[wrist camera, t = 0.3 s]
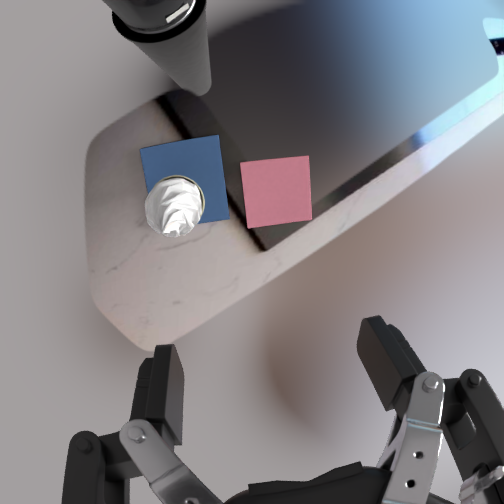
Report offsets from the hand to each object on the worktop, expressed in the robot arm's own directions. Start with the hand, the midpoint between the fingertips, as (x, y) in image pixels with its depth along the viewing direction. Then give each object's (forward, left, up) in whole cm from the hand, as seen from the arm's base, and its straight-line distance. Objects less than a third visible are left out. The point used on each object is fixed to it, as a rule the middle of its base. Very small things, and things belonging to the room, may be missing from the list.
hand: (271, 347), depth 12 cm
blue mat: (-2, -5, -25) cm, 25 cm away
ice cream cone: (-2, -5, -25) cm, 25 cm away
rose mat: (0, +5, -25) cm, 25 cm away
